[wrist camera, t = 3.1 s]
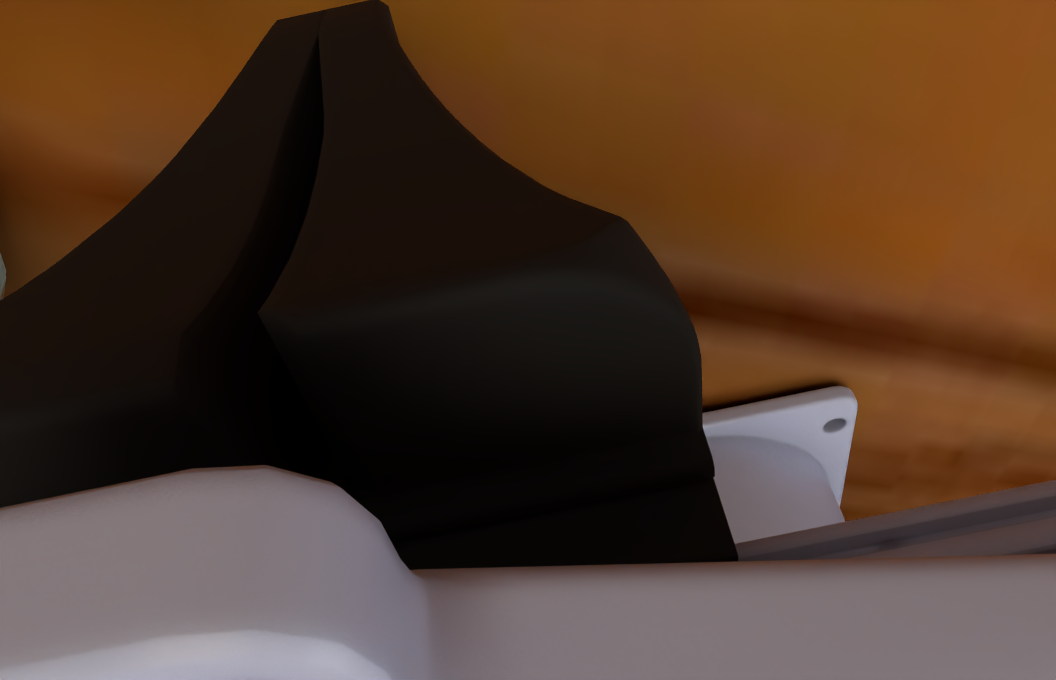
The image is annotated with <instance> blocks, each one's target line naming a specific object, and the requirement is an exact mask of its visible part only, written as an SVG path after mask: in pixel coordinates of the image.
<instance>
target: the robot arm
mask: <svg viewBox="0 0 1056 680" xmlns="http://www.w3.org/2000/svg"><path fill="white" fill-rule="evenodd" d="M857 408H858V404H857V400H856V398H855V396H854V394H853V392H852V391H851V390H850V389H849V388H847V387H843V386H833V387H828V388H823V389H818V390H813V391H808V392H803V393H798V394H793V395H789V396H784V397H779V398H774V399H769V400H764V401H759V402H754V403H749V404H745V405H740V406H735V407H730V408H725V409H720V410H715V411H710V412H705V413H702V367H701V354H700V348H699V343H698V339H697V335H696V332H695V329H694V327H693V324H692V322H691V320H690V317H689V315H688V313H687V311H686V309H685V307H684V305H683V303H682V302H681V300H680V298H679V296H678V294H677V292H676V291H675V289H674V287H673V285H672V284H671V282H670V280H669V279H668V277H667V275H666V274H665V272H664V271H663V269H662V268H661V266H660V265H659V263H658V262H657V260H656V259H655V258H654V256H653V255H652V253H651V252H650V250H649V249H648V248H647V246H646V245H645V244H644V242H643V241H642V240H641V238H640V237H639V236H638V234H637V233H636V232H635V230H634V229H633V228H632V226H631V225H630V224H629V223H628V222H627V221H626V220H625V219H623V218H622V217H620V216H617V215H614V214H612V213H609V212H606V211H603V210H601V209H598V208H595V207H592V206H590V205H587V204H584V203H581V202H579V201H576V200H573V199H570V198H568V197H565V196H563V195H561V194H559V193H557V192H555V191H553V190H551V189H549V188H547V187H545V186H543V185H541V184H540V183H538V182H537V181H535V180H533V179H532V178H530V177H529V176H527V175H526V174H524V173H523V172H521V171H519V170H518V169H516V168H515V167H513V166H512V165H510V164H509V163H507V162H505V161H504V160H503V159H501V158H500V157H499V156H498V155H496V154H495V153H494V152H493V151H491V150H490V149H489V148H488V147H486V146H485V145H484V144H483V143H481V142H480V141H479V140H478V139H477V138H476V137H475V136H474V135H472V134H471V133H470V132H469V131H468V130H467V129H466V128H465V127H464V126H463V125H462V124H461V123H460V122H459V121H458V120H457V119H456V118H455V117H454V116H453V115H452V114H451V113H450V112H449V111H448V110H447V109H446V108H445V106H444V105H443V104H442V103H441V102H440V101H439V99H438V98H437V97H436V96H435V95H434V94H433V92H432V91H431V90H430V89H429V87H428V86H427V85H426V83H425V82H424V81H423V80H422V78H421V77H420V75H419V74H418V72H417V71H416V69H415V68H414V66H413V65H412V64H411V62H410V61H409V59H408V58H407V56H406V54H405V53H404V51H403V49H402V48H401V46H400V44H399V41H398V38H397V34H396V31H395V27H394V24H393V21H392V17H391V14H390V10H389V7H388V6H387V5H386V4H384V3H383V2H381V1H380V0H369V1H364V2H359V3H355V4H350V5H345V6H341V7H336V8H331V9H327V10H322V11H318V12H313V13H308V14H304V15H299V16H294V17H290V18H285V19H280V20H277V21H276V23H275V24H274V25H273V26H272V27H271V29H270V30H269V31H268V33H267V34H266V36H265V37H264V39H263V40H262V41H261V43H260V44H259V46H258V47H257V49H256V50H255V52H254V53H253V55H252V56H251V58H250V59H249V60H248V62H247V63H246V65H245V66H244V68H243V69H242V71H241V72H240V73H239V75H238V76H237V78H236V79H235V80H234V82H233V83H232V85H231V86H230V87H229V89H228V90H227V92H226V93H225V94H224V96H223V97H222V99H221V100H220V101H219V103H218V104H217V106H216V107H215V108H214V109H213V111H212V112H211V113H210V114H209V116H208V117H207V118H206V119H205V121H204V122H203V123H202V124H201V125H200V127H199V128H198V129H197V130H196V132H195V133H194V134H193V135H192V136H191V138H190V139H189V140H188V141H187V143H186V144H185V145H184V146H183V147H182V149H181V150H180V151H179V152H178V154H177V155H176V156H175V157H174V158H173V159H172V160H171V162H170V163H169V164H168V165H167V166H166V167H165V168H164V169H163V170H162V171H161V172H160V173H159V174H158V175H157V176H156V178H155V179H154V180H153V181H152V182H151V183H150V184H149V185H148V186H146V187H145V188H144V189H143V190H142V191H141V192H140V193H139V194H138V195H137V196H136V197H135V198H134V199H133V200H132V201H131V202H130V203H129V204H128V205H127V206H126V207H125V208H123V209H122V210H121V211H120V212H119V213H118V214H117V215H116V216H115V217H113V218H112V219H111V220H110V221H108V222H107V223H106V224H105V225H103V226H102V227H101V228H100V229H98V230H97V231H96V232H95V233H93V234H92V235H91V236H90V237H88V238H87V239H86V240H85V241H83V242H82V243H81V244H80V245H79V246H77V247H76V248H75V249H74V250H72V251H71V252H70V253H69V254H67V255H66V256H65V257H64V258H62V259H61V260H60V261H58V262H57V263H56V264H54V265H53V266H52V267H50V268H49V269H47V270H46V271H44V272H43V273H42V274H40V275H39V276H37V277H36V278H34V279H33V280H31V281H30V282H29V283H27V284H26V285H24V286H23V287H21V288H20V289H18V290H17V291H15V292H14V293H12V294H10V295H9V296H7V297H6V298H4V299H3V300H1V301H0V680H1056V480H1051V481H1046V482H1041V483H1036V484H1031V485H1026V486H1021V487H1016V488H1011V489H1006V490H1001V491H996V492H991V493H986V494H981V495H976V496H971V497H966V498H961V499H956V500H951V501H946V502H941V503H936V504H931V505H926V506H921V507H916V508H911V509H906V510H901V511H896V512H891V513H886V514H881V515H876V516H871V517H866V518H861V519H856V520H851V521H846V522H845V520H844V517H843V515H842V512H841V510H840V503H841V497H842V492H843V486H844V480H845V475H846V469H847V464H848V458H849V453H850V447H851V442H852V436H853V431H854V425H855V420H856V414H857Z"/></svg>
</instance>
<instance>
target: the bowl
mask: <svg viewBox="0 0 1056 680" xmlns="http://www.w3.org/2000/svg"><path fill="white" fill-rule="evenodd" d="M5 274H6V268H5V265H4V262H3V259H2V256H1V253H0V301H1V300H3V297H4V290H5V284H6V275H5Z"/></svg>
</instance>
